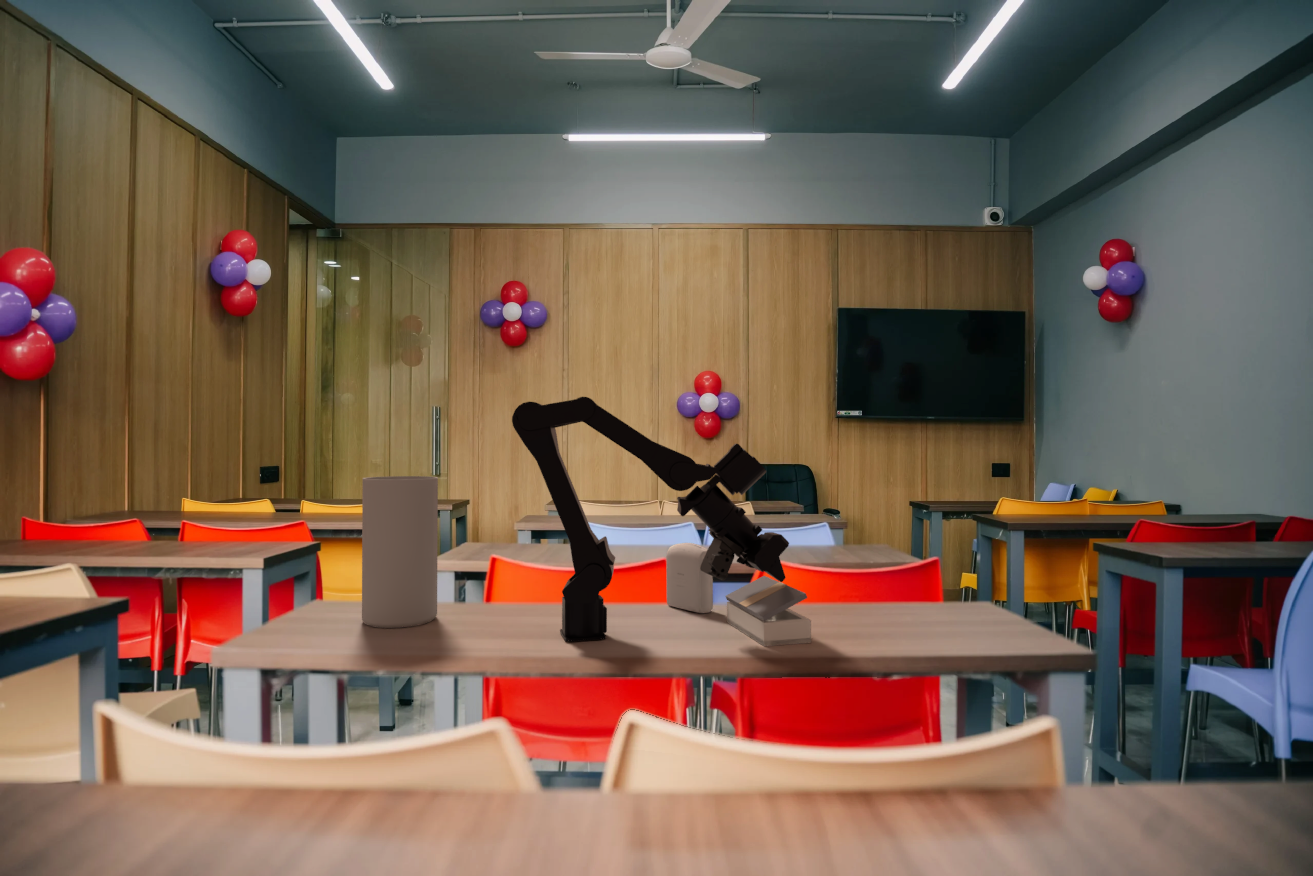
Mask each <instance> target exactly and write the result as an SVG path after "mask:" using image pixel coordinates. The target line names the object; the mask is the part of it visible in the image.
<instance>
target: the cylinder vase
mask: <svg viewBox="0 0 1313 876" xmlns="http://www.w3.org/2000/svg"><path fill="white" fill-rule="evenodd" d="M438 486H439V477H437V476H428V475H427V476H425V475H424V476H423V475H422V476H420V475H398V476H397V475H396V476H395V475H393V476H388V475H387V476H371V477H370V476H369V477H362V506H361V508H362V510H361V511H362V514H361V515H362V518H361V519H362V521H361V522H362V524H361V526H362V527H361V528H362V530H361V531H362V533H361V534H362V535H361V536H362V537H361V539H362V540H361V541H362V542H361V545H362V546H361V547H362V548H361V551H362V552H361V555H362V556H361V571H362V573H361V620H362V622H363V623H364V624H365V625H367V626H369V627H373V628H381V629H382V628H383V629H396V628H397V629H399V628H409V627H410V628H411V627H414V626H415V627H416V626H420V625H424V624H427V623H430V622H431V621H433V620H435V619H436V617H437V615H438V544H439V543H438V541H439V540H438V538H439V537H438V535H439V533H438V529H439V528H438V527H439V526H438V519H439V517H438V516H439V515H438V513H439V511H438V507H439V506H438V505H439V503H438V502H439V501H438V500H439V497H438V495H439V492H438V489H439V487H438Z"/></svg>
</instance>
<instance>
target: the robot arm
mask: <svg viewBox="0 0 1313 876" xmlns="http://www.w3.org/2000/svg"><path fill="white" fill-rule="evenodd" d="M511 422H512V427H513V430H514V431H515V432H516V433H517V435H518V437H519V438H520V440H521V442H523V443H522V444H523V445H524V446H525V447H526V448H527V450H528V452H529V453H530V454H531V455H532V457H533V458H534V459H535V461H536V463H537V465H538V468H539V471H540V473H541V475H542V477H543V481H544V482H545V485H546V488H547V490H548V492H549V494H550V497H551V500H552V502H553V504H554V507H555V509H556V512H557V514H558V517H559V518H560V521H561V523H562V526H563V529H564V531H565V533H566V535H567V538H568V542H569V546H570V554H571V560H572V565H573V569H574V574H573V575H572V576H571V577H570V578H569V579H568V580H567V581H566V583H565V585H564V587H563V589H562V591H561V593H562V598H561V599H562V600H561V601H562V603H561V609H562V610H561V622H562V623H561V628H560V629H559V633H560V635H561V636H562V638H563V640H564V641H565V642H580V641H595V640H597V641H598V640H605V639H607V635H606V633H607V631H608V628H607V627H608V612H607V611H608V607H606V606H605V605H604V597H603V596H602V595H600V592H602V591H604V590H605V589H607V587H608V586H609V585H610V584H611V581H612V579H613V575H614V569H615V562H616V561H615V560H616V556H615V555H614V554H613V553H612V552H611V549H610V546H609V541H608V537H607V535H606V536H603V537H601V538H598V537H597V535H596V534H595V533H594V531H593V530H592V528H591V526H590V523H589V520H588V519H587V517H586V513H585V511H584V509H583V506H582V503H581V502H580V499H579V496H578V495H577V492H576V489H575V487H574V485H573V481H572V480H571V477H570V475H569V472H568V470H567V468H566V465H565V463H564V460H563V458H562V456H561V453H560V448H559V442H558V436H557V430H556V428H561V427H565V426H568V425H572V424H573V425H574V424H577V423H584V424H586V426H589V427H590V428H592V429H594V430H595V431H596V432H598V433H600V434H601V435H603V436H604V437H606V438H607V439H608V440H610V441H611V442H613V443H615V444H616V445H617V446H619V447H620V448H623V450H625V451H627V452H628V453H630V454H631V455H633V456H634V457H636V458H637V459H639V460H641V462H643V463H644V465H646V466H647V467H648V468H649V469H650V471H652V472H653V473H654V474H655V475H656V476H657V477H659V479H660V480H661V481H663V482H664V484H665V485H666V486H668V487H669V488H670V489H672V490H674V491H678V492H683V491H687V490H690V489H691V488H693V487H694V485H696V483H699V482H703V481H707V482H705V484H703V485H702V486H701V487H699V485H696V486H695V487H694V488H693V489H692V490H691V491H690V492H689V493H687V494H686V495H685V496H677V498H676V500H677V503H678V504H677V507H676V508H677V512H678V513H679V515H680V516H681V517H685V516H686V515H687V514H688V513H689V512H690V511H692V512H693V513H694V514H695V515H696V516H697V517H698V518H699V519H700V520H701V521H702V522H703V523H704V524H705V526H706V527H707V528H708V531H709V532H708V534H709V536H711V538H712V541H711V542H710V545H709V546H708V548H707V552H706V555H705V557H704V559H703V561H702V564H701V567H700V570H701V571H703V572H705V573H707V574H709V575H711V576H713V578H715V579H718V580H720V581H725V580H726V579H727V578H728V576H729V571H730V569H731V567H732V565H733V561H734V559H735V556H736V557H738V558H737V559H736V563H738V564H741V565H745V566H746V567H748V568H750V569H755V570H757V571H759V572H762V573H765V574H768V576H771V577H772V579H773V578H774V580H776V581H778V582H781V583H783V582H784V581H785V579H787V578H786V575H785V570H784V569H783V564H782V562H781V558H780V556H781V555H782V554H783V553H784V552H785V550H786V549H787V548H788V547H789V546H790V542H789V541H788V540H787V539H786V538H785V537H784V535H782V534H780V533H776V532H774V531H773V532H772V531H771V532H764V533H761V532H763V529H762V527H761V526H760V525H758V524H756V523H755V524H754V523H753V522H752V521H751V519H750V518H748V517H747V515H746V513H747V512H746V510H745V509H743V507H740V506H737V505H736V504H735V503H734V502H733V501H732V499H730V497H728V496H727V494H726V493H725V492H724V491H723V490H722V489H721V488H720V487H719V486H718V484H719V483H720V485H721V486H722V487H723V488H725V490H726V491H727V492H728V493H729V494H730V495H732V496H734V495H735V494H739V495H741V496H743V495H744V494H745V493H746V492H747V491H748V490H749V489H750V488H751V487H752V486H753V485H754V484H756V483H757V481H758V480H760V479H761V478H762V477H763V476H764V475H765V474H766V473H767V470H766V468H765V467H764V466H763V465H762V464H761V462H759V460H758V459H757V458H756V457H755V456H753V455H751V454H750V453H749V452H748V451H747V450H746V449H744V448H743V447H742V446H741V445H740V444H739V443H734V444H733V445H732V446H731V447H730V448H729V449H728V451H727V453H725V454H724V455H723V456H722V457H721V458H720V459H719V460H718V461H717V462H716V463H715V464H714V465H711V464H709V463H706V464H702V463H701V464H700V463H696V461H695V460H693V459H692V458H691V457H690V456H688V455H685V454H683V453H681V452H678V451H677V450H673V449H671V448H669V447H666V446H664V445H662V444H660V443H657V442H656V441H653V440H652V439H650V438H648V436H646V435H644V434H642V433H641V432H640V431H638V430H636V429H635V428H633V427H632V426H630V425H629V424H627V423H625V422H624V420H623V421H622V420H621V419H619V418H618V417H616V416H615V415H614V414H612V413H610V412H609V411H607V410H606V409H604V408H602V407H601V406H600V405H598V404H597V403H596V401H594V400H593V399H592V398H590V397H587V396H580V397H577V398H576V399H575V398H574V399H569V400H564V401H563V400H562V401H559V402H553V403H552V402H551V403H546V404H541V403H538V402H536V401H525V402H522V403H521V404H519V405H518V406H517V407H516V408H515V409H514V411H513V414H512V416H511Z"/></svg>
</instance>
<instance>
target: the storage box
mask: <svg viewBox="0 0 1313 876" xmlns="http://www.w3.org/2000/svg"><path fill="white" fill-rule="evenodd" d="M726 623H727V624H729V625H730V626H732V627H734V628H735V629H736V630H738V631H740V632H741V633H743V634H744V635H746V636H747V637H749V638H750V639H752V640H753V641H755V642H756V643H758V644H760V645H762V646H763V647H773V646H786V645H796V644H797V645H798V644H799V645H800V644H811V643H812V619H810V618H809V617H806V616H804V615H802V614H800V613H798V612H797V611H794V610H792V609H790V608H788V609H786V610H784V611H782V612H780V613H778V614H776V615H774V616H773V617H771V618H769V619H767V620H765V621H763V620H761V619H760V618H758V617H756V616H754V615H753V614H751V613H749V612H747V611H746V610H744V609H742V608H740V607H738V606H737V605H735V604H733V603H731V602H730V601H726Z"/></svg>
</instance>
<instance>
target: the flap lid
mask: <svg viewBox="0 0 1313 876" xmlns="http://www.w3.org/2000/svg"><path fill="white" fill-rule="evenodd" d="M806 599H808V596H807V593H806V592H804V591H801V590H798V589H797V588H794V587H793V586H789V585H788V584H786V583H783V582H780V581H778V580H776V579H773V578H770V577H768V576H765V575H763V576H761V577H759V578H757V579H755V580H753V581H751V582H749V583H748V584H745V585H744V586H741V587H740V588H738V589H736V590H733V591H732V592H730V593H728V594H727V595H725V600H726V601H727V602H731V603H733V604H735V605H737V606H738V607H740V608H742V609H744V610H746V611H747V612H749V613H751V614H753V615H754V616H756V617H758V618H760V619H761V620H763V621H765V620H767V619H769V618H771V617H773V616H774V615H776V614H778V613H780V612H782V611H784V610H786V609H790V608H791V607H794V606H795V605H796V604H799V603H801V602H802V601H804V600H806Z"/></svg>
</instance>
